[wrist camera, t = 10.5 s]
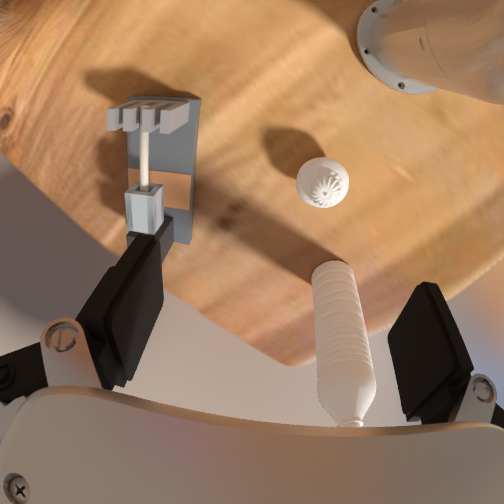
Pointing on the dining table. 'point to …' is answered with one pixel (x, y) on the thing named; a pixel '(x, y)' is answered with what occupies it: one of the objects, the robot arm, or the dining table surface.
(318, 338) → the water bottle
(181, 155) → the board
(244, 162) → the dining table surface
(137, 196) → the sleeve
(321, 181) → the white rounded ridged piece
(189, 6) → the dining table surface
